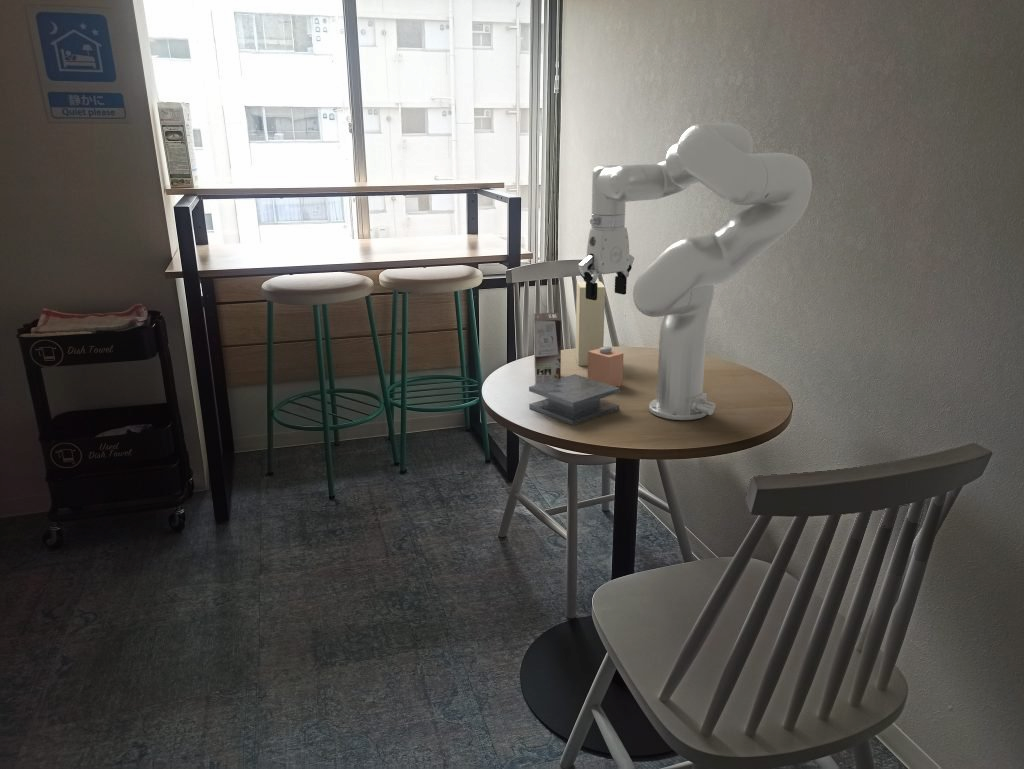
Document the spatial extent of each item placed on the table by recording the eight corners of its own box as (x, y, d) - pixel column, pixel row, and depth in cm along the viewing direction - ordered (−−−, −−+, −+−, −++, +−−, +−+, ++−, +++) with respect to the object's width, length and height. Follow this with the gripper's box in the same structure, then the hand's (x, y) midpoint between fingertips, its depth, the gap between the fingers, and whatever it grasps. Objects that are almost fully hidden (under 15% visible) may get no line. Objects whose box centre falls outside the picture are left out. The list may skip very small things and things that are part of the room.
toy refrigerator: (606, 365, 191) (607, 286, 184) (578, 366, 191) (579, 287, 184) (602, 357, 198) (603, 281, 192) (575, 357, 198) (575, 281, 192)
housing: (622, 385, 175) (623, 349, 172) (608, 389, 172) (609, 353, 169) (601, 378, 180) (602, 343, 177) (587, 382, 177) (587, 347, 174)
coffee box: (561, 385, 176) (561, 320, 171) (534, 385, 176) (534, 320, 171) (559, 373, 184) (559, 311, 179) (534, 374, 185) (533, 312, 180)
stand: (619, 409, 158) (619, 388, 157) (572, 425, 150) (573, 402, 149) (575, 394, 169) (575, 374, 167) (529, 408, 160) (529, 386, 159)
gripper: (592, 226, 156) (591, 304, 162) (646, 220, 167) (642, 293, 172) (568, 223, 162) (568, 299, 167) (622, 218, 172) (619, 289, 178)
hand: (606, 296), depth 170 cm, fingers open, 9 cm apart
